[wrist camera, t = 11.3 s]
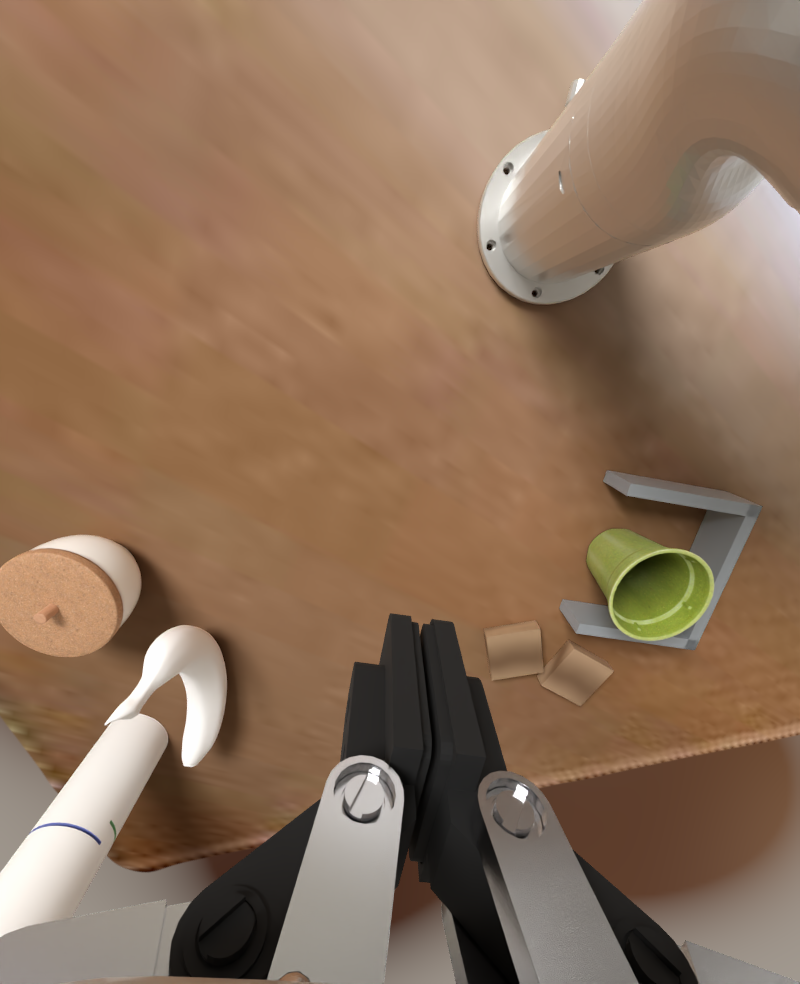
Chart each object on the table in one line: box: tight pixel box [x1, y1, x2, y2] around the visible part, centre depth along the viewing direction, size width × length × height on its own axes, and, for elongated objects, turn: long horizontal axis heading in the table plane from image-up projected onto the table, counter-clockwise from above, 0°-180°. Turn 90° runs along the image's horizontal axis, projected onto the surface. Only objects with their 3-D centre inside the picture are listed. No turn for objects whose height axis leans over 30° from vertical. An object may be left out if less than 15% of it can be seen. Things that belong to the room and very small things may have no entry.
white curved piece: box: [105, 625, 227, 767], centre depth 43 cm, size 5×19×15 cm, turn 0°
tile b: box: [537, 640, 614, 706], centre depth 51 cm, size 6×6×2 cm
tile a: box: [484, 620, 544, 680], centre depth 50 cm, size 6×6×2 cm
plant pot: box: [586, 529, 714, 641], centre depth 43 cm, size 9×9×9 cm
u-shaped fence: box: [559, 470, 763, 650], centre depth 45 cm, size 16×13×4 cm
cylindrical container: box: [0, 714, 168, 937], centre depth 41 cm, size 7×7×25 cm
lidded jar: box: [0, 535, 142, 657], centre depth 41 cm, size 11×11×9 cm
